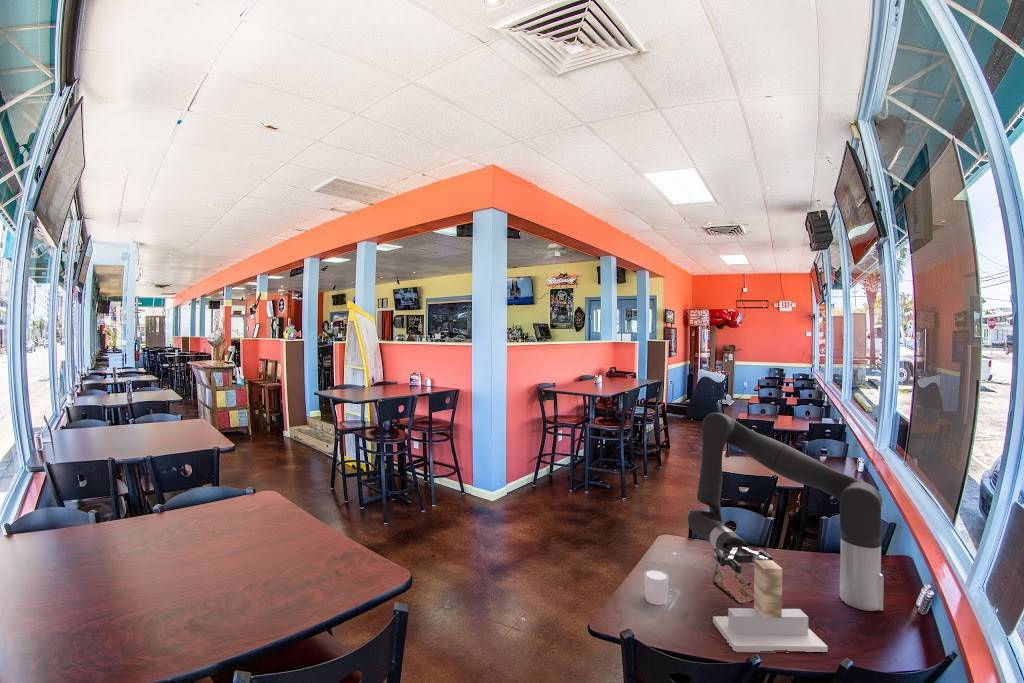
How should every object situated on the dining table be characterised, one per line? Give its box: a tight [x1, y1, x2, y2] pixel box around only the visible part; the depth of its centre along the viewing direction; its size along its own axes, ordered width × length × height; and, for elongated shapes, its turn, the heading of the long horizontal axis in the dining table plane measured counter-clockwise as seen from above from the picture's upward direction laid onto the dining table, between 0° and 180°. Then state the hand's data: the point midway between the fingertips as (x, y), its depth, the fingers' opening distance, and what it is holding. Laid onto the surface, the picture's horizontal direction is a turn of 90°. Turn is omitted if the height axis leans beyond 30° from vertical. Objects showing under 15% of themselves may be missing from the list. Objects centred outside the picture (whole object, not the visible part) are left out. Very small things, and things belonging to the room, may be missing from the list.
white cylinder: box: [643, 569, 670, 606], centre depth 136 cm, size 7×7×7 cm
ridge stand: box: [712, 607, 829, 653], centre depth 120 cm, size 22×12×6 cm, turn 90°
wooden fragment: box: [713, 569, 754, 604], centre depth 147 cm, size 26×11×1 cm, turn 167°
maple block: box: [753, 559, 783, 618], centre depth 120 cm, size 4×4×12 cm
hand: (756, 570), depth 126 cm, fingers open, 8 cm apart
